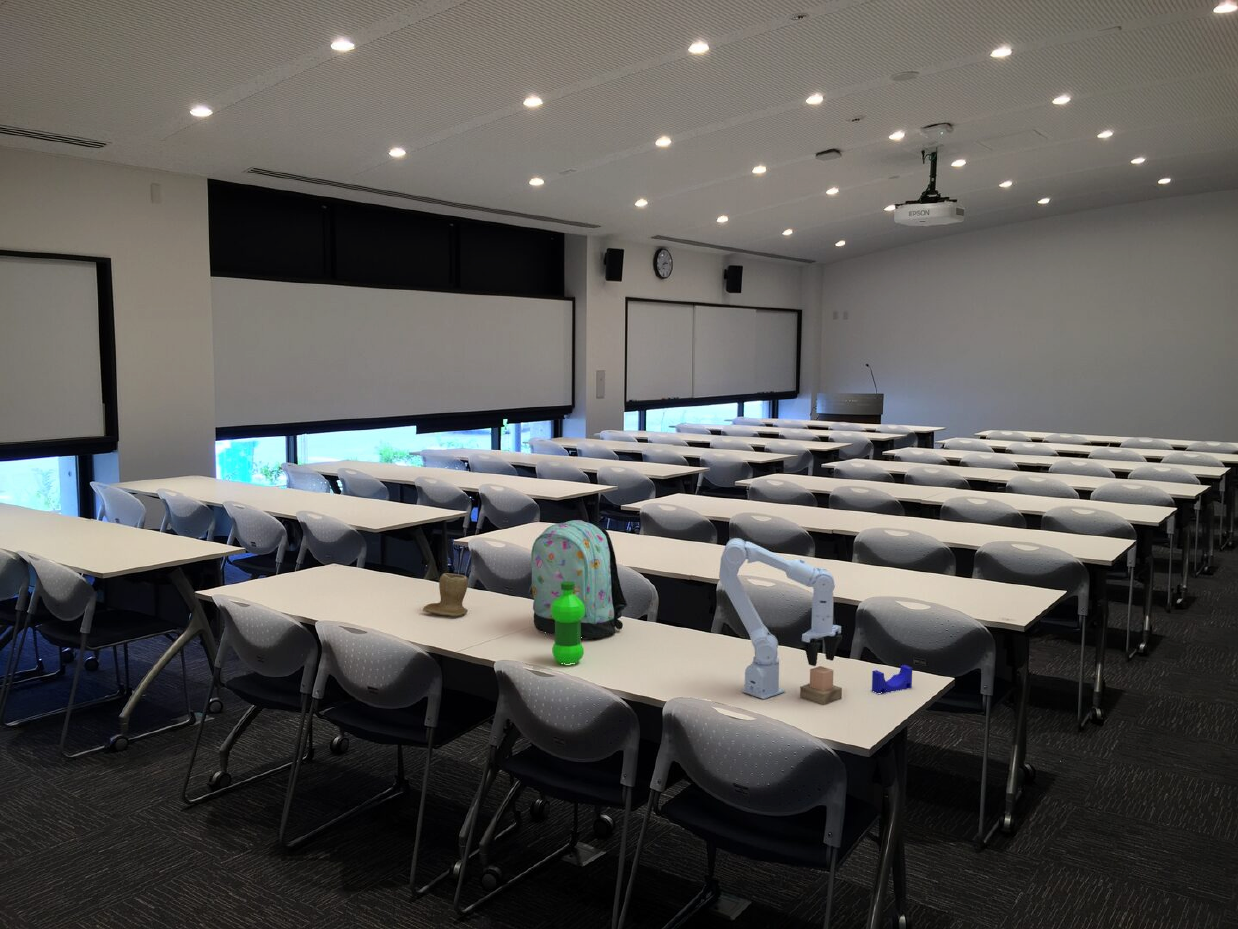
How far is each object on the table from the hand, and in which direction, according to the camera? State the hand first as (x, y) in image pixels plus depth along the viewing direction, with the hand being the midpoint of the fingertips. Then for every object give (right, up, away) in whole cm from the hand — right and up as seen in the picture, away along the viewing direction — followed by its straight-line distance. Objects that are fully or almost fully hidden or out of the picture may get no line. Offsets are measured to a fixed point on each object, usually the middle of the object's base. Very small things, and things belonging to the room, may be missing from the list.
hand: (821, 662), depth 263 cm
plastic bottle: (-72, -6, +29) cm, 77 cm away
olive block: (0, -10, -1) cm, 10 cm away
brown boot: (-118, 0, +84) cm, 145 cm away
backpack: (-71, -3, +60) cm, 93 cm away
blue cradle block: (+21, -9, +7) cm, 24 cm away
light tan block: (0, -7, -1) cm, 7 cm away
